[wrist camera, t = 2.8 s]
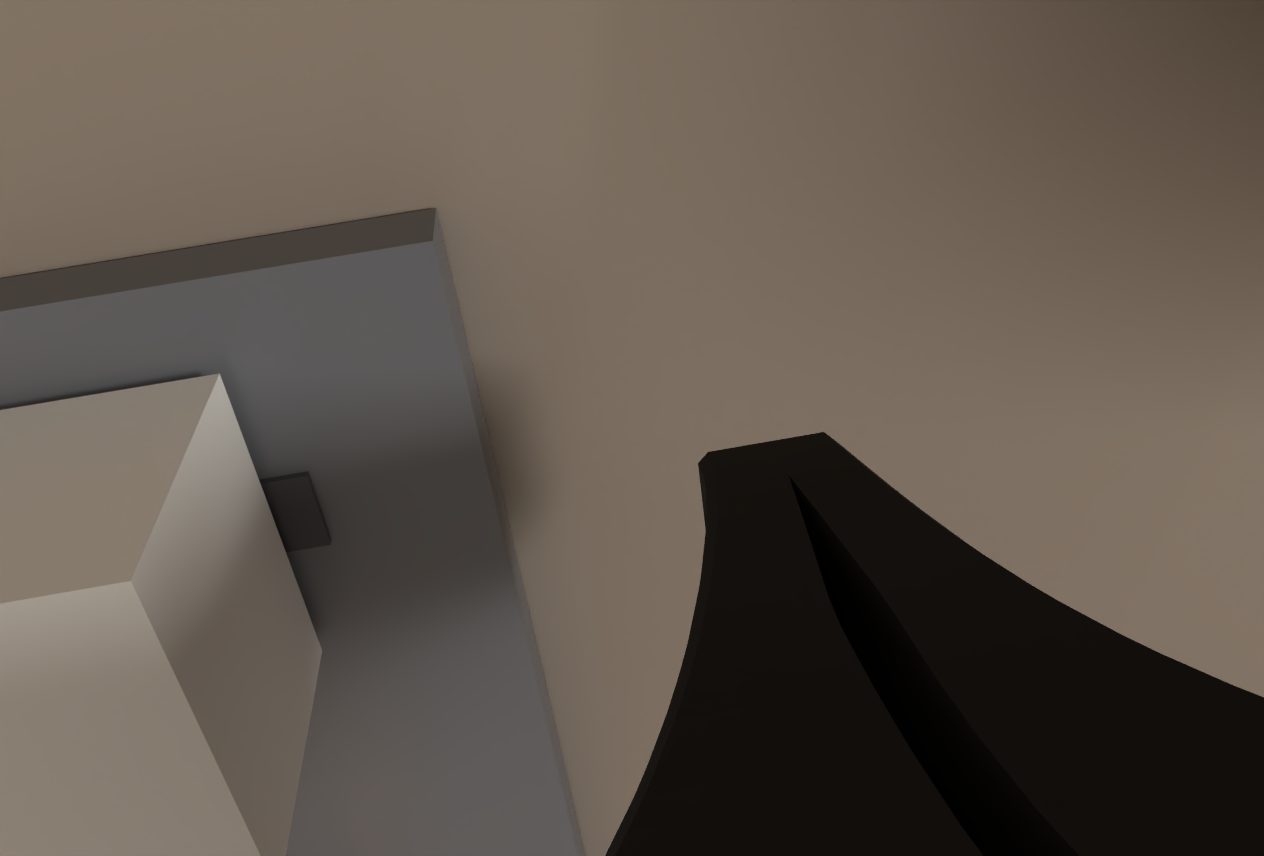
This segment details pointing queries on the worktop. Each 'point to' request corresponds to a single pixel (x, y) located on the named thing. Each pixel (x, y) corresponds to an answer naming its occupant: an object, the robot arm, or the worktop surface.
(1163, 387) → the worktop surface
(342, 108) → the worktop surface
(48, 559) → the handle
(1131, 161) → the worktop surface
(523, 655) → the breaker panel
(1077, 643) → the robot arm
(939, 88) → the worktop surface
